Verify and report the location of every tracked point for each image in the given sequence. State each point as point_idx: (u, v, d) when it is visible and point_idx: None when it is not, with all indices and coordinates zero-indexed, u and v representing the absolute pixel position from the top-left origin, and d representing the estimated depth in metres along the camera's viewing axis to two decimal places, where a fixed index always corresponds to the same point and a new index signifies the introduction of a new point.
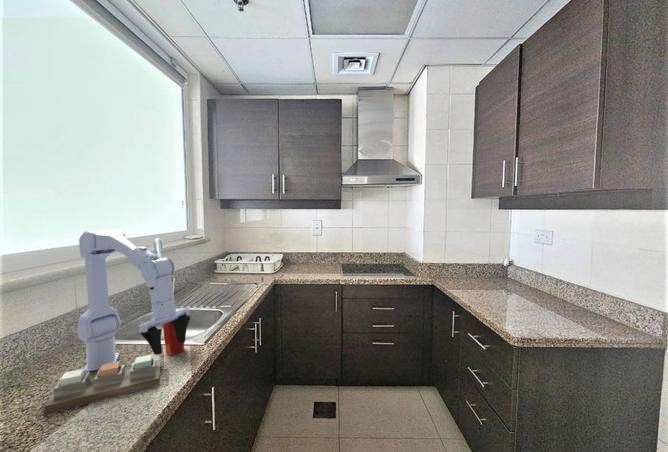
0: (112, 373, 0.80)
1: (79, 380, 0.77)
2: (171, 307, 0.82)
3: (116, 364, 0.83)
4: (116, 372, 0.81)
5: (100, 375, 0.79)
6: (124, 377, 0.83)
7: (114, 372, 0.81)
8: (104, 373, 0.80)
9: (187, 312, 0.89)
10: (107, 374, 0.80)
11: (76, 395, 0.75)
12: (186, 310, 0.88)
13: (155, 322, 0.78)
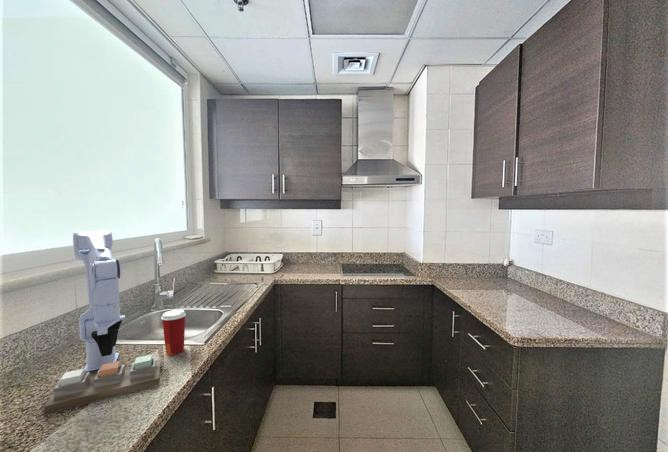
0: (112, 373, 0.80)
1: (79, 380, 0.77)
2: (119, 309, 0.82)
3: (116, 364, 0.83)
4: (116, 372, 0.81)
5: (100, 375, 0.79)
6: (124, 377, 0.83)
7: (114, 372, 0.81)
8: (104, 373, 0.80)
9: None
10: (107, 374, 0.80)
11: (76, 395, 0.75)
12: None
13: (111, 323, 0.78)
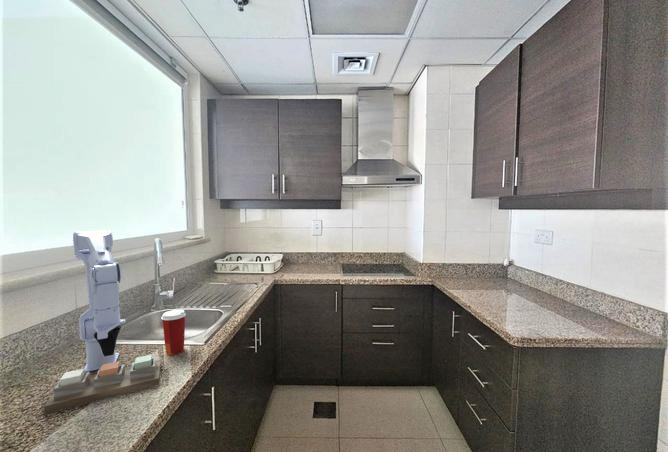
0: (112, 373, 0.80)
1: (79, 380, 0.77)
2: (119, 312, 0.82)
3: (116, 364, 0.83)
4: (116, 372, 0.81)
5: (100, 375, 0.79)
6: (124, 377, 0.83)
7: (114, 372, 0.81)
8: (104, 373, 0.80)
9: None
10: (107, 374, 0.80)
11: (76, 395, 0.75)
12: None
13: (112, 328, 0.78)
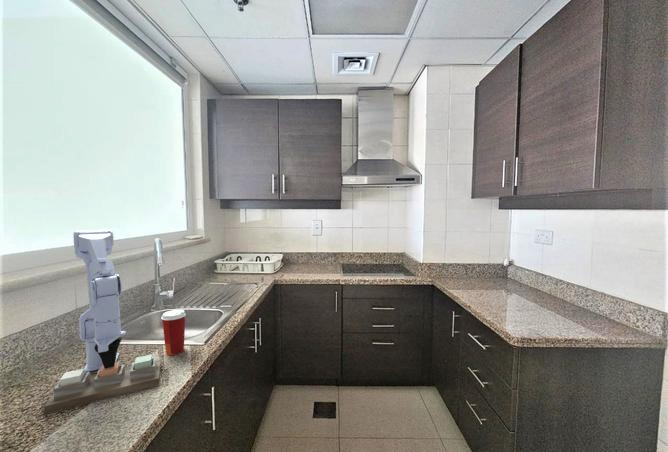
0: (112, 373, 0.80)
1: (79, 380, 0.77)
2: None
3: (116, 364, 0.83)
4: (116, 372, 0.81)
5: (100, 375, 0.79)
6: (124, 377, 0.83)
7: (114, 372, 0.81)
8: (104, 374, 0.80)
9: None
10: (107, 374, 0.80)
11: (76, 395, 0.75)
12: None
13: (112, 340, 0.78)
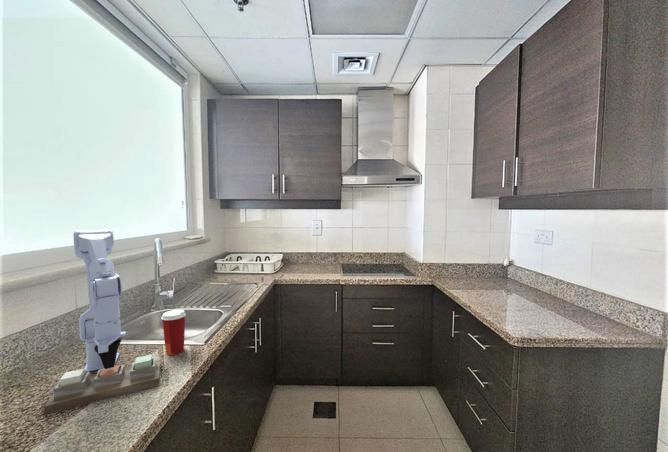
0: None
1: (79, 380, 0.77)
2: None
3: (116, 368, 0.83)
4: None
5: None
6: (124, 377, 0.83)
7: None
8: None
9: None
10: None
11: (76, 395, 0.75)
12: None
13: (112, 341, 0.78)
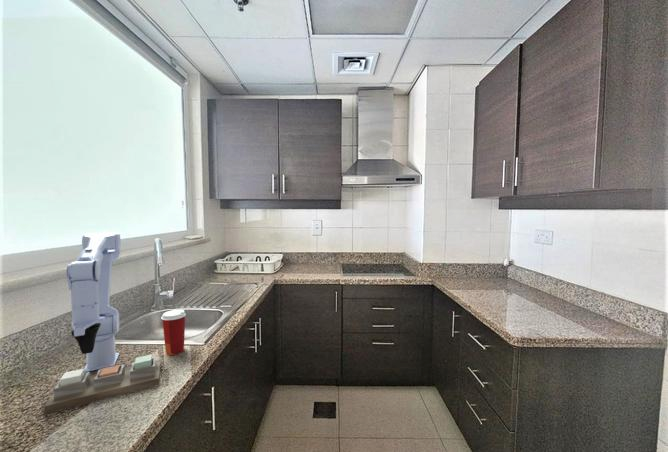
0: None
1: (79, 380, 0.77)
2: (98, 310, 0.82)
3: (116, 368, 0.83)
4: None
5: None
6: (124, 377, 0.83)
7: None
8: None
9: None
10: None
11: (76, 395, 0.75)
12: None
13: (89, 325, 0.77)
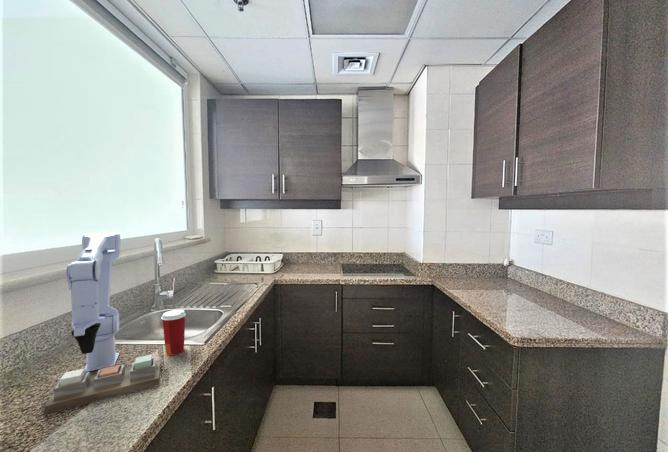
0: None
1: (79, 380, 0.77)
2: (98, 310, 0.82)
3: (116, 368, 0.83)
4: None
5: None
6: (124, 377, 0.83)
7: None
8: None
9: None
10: None
11: (76, 395, 0.75)
12: None
13: (89, 325, 0.77)
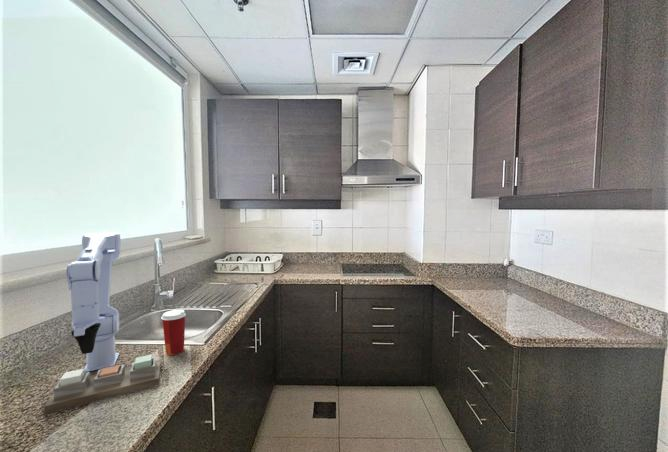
0: None
1: (79, 380, 0.77)
2: (98, 310, 0.82)
3: (116, 368, 0.83)
4: None
5: None
6: (124, 377, 0.83)
7: None
8: None
9: None
10: None
11: (76, 395, 0.75)
12: None
13: (89, 325, 0.77)
